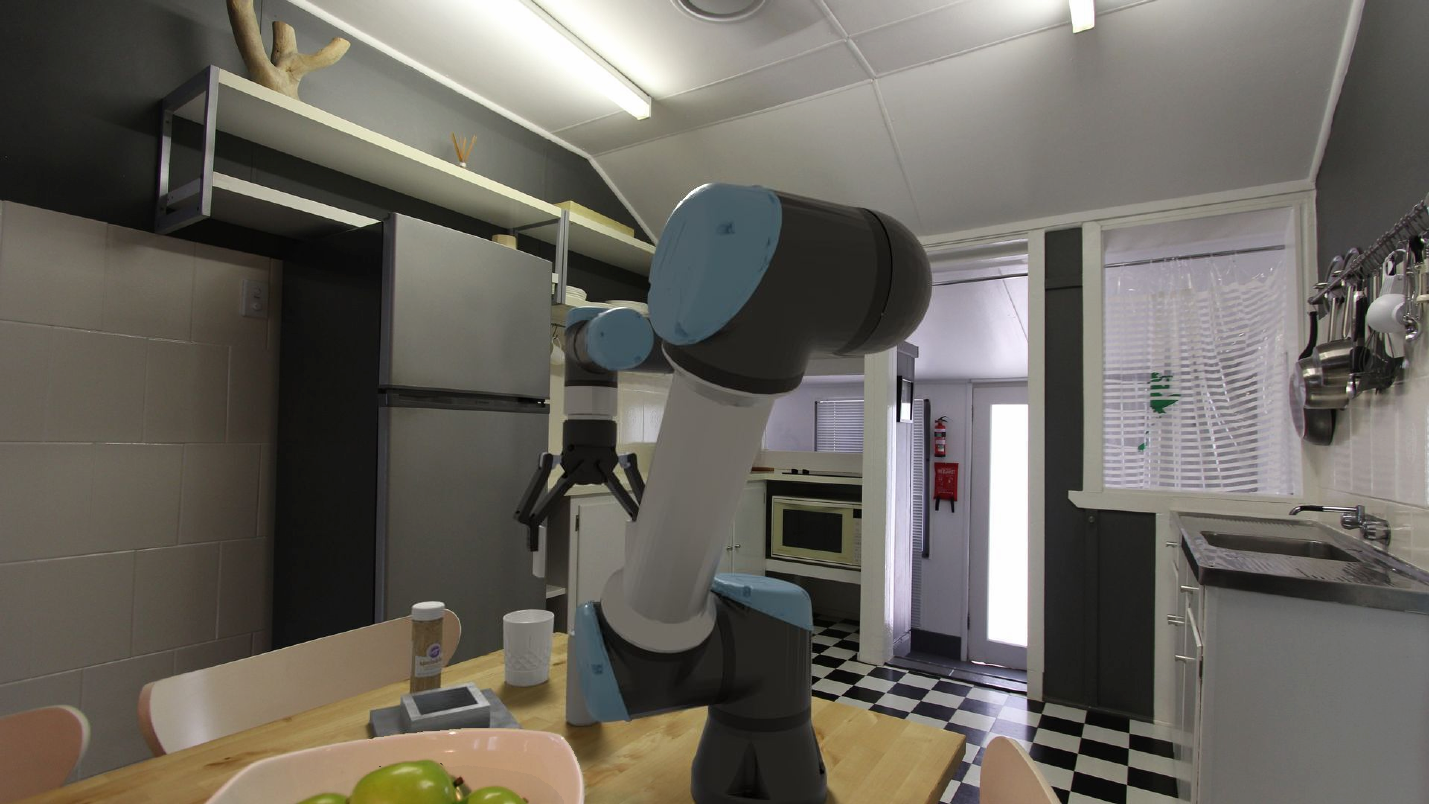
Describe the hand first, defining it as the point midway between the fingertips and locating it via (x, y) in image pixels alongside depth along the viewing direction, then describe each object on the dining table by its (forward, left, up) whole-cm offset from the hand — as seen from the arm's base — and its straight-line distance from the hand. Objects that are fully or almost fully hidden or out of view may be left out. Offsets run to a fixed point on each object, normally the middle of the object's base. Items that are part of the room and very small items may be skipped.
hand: (586, 571), depth 93 cm
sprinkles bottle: (+20, +17, -20) cm, 33 cm away
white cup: (+19, +2, -20) cm, 28 cm away
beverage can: (0, 0, -20) cm, 20 cm away
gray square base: (+6, +17, -20) cm, 27 cm away
